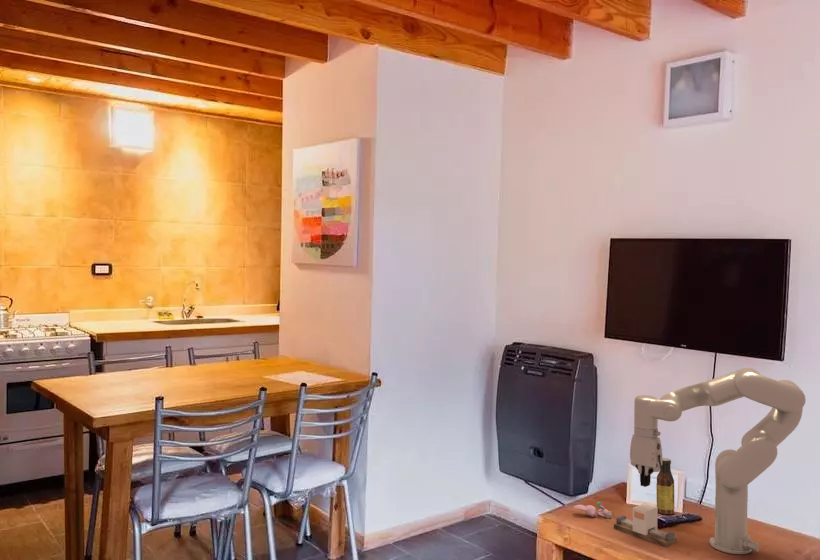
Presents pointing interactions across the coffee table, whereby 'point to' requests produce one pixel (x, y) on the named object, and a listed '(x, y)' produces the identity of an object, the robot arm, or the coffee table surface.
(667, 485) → the sauce bottle
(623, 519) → the rail
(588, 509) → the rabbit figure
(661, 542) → the board
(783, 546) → the coffee table surface
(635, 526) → the module
